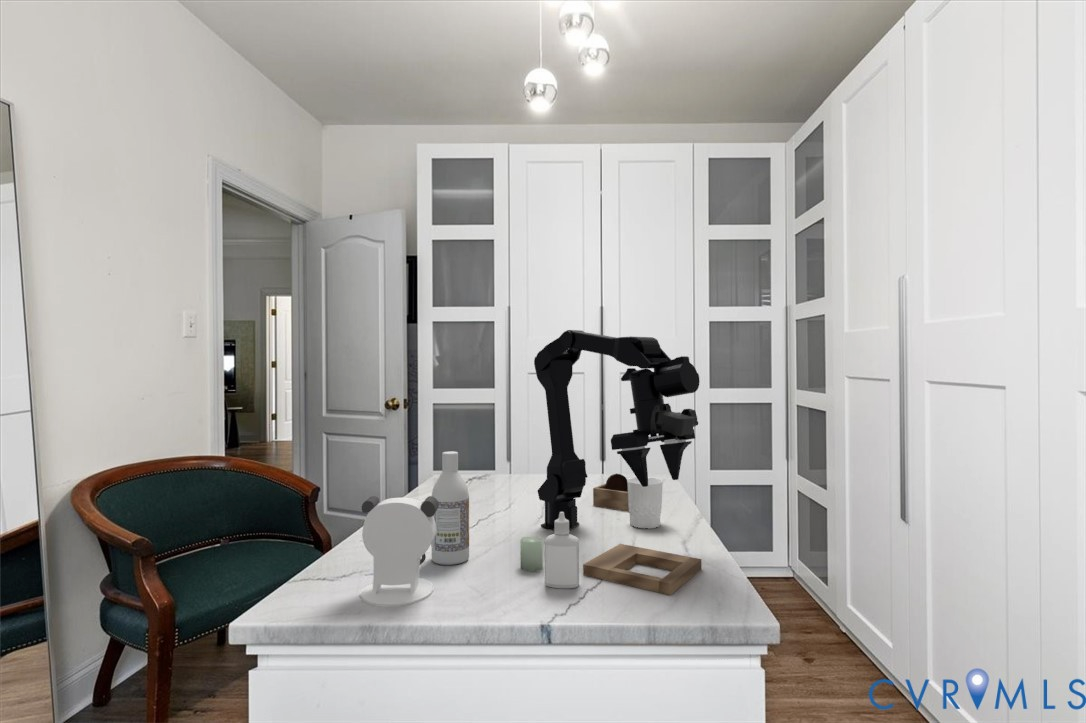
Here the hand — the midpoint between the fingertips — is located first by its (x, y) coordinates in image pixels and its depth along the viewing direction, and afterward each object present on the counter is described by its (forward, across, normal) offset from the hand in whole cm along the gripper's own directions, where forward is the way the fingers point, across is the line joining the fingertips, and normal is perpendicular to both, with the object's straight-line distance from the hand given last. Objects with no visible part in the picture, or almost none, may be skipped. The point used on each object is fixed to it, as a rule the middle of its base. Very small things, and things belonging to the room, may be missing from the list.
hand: (660, 483), depth 112 cm
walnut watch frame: (+8, +26, +34) cm, 43 cm away
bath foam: (+9, -30, +28) cm, 42 cm away
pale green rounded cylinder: (+12, -22, +14) cm, 28 cm away
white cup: (+11, +15, +18) cm, 26 cm away
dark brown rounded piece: (+8, +26, +34) cm, 43 cm away
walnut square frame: (+14, -9, 0) cm, 17 cm away
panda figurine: (+11, -45, +20) cm, 50 cm away
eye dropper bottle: (+14, -24, +5) cm, 28 cm away
